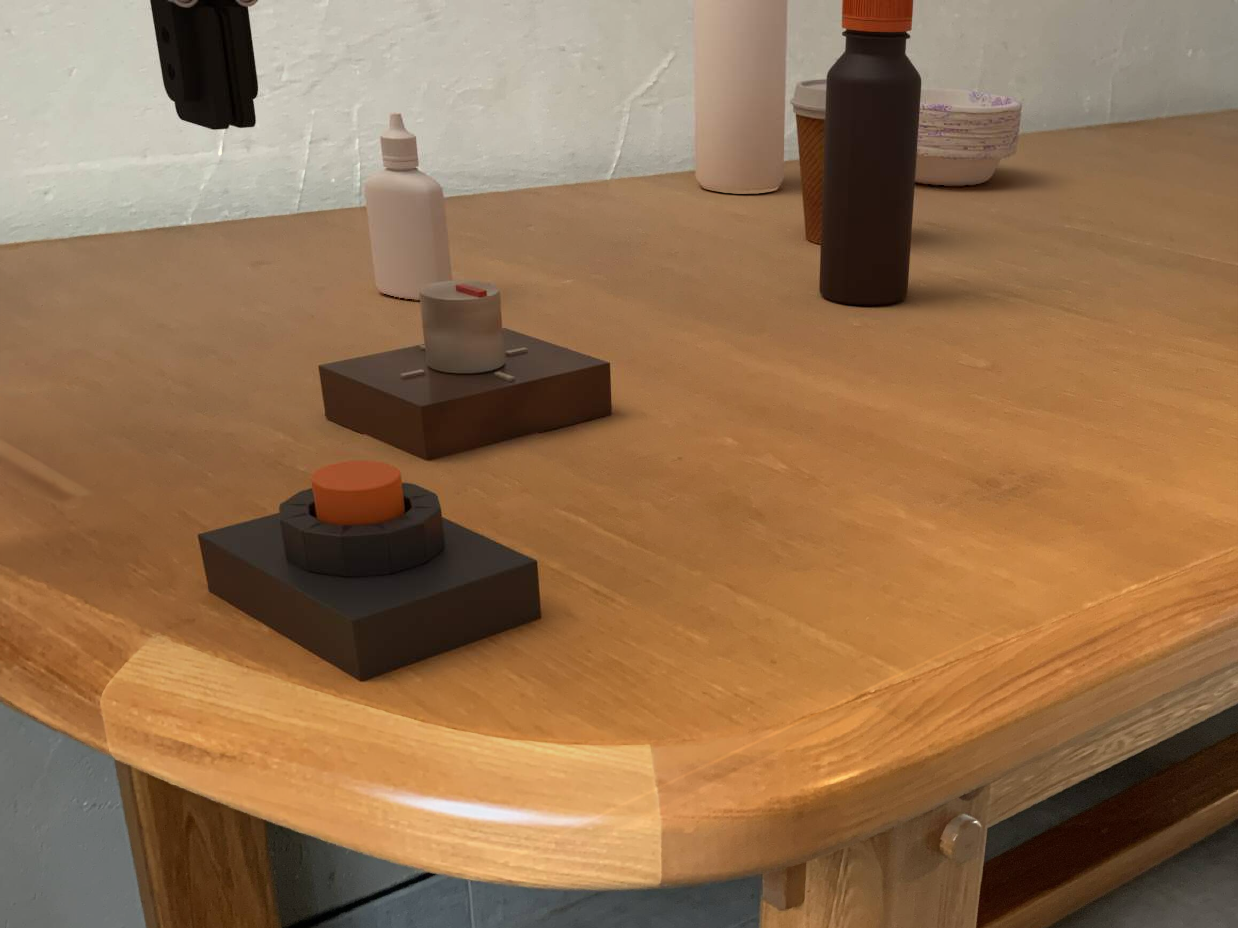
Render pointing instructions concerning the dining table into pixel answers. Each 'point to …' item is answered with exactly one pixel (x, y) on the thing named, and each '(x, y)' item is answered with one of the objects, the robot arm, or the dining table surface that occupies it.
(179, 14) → the robot arm
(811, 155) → the disposable coffee cup
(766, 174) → the pale pink cylinder
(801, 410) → the dining table surface
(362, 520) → the button
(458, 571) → the button base
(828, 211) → the dark brown water bottle
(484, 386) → the dial panel
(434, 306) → the dial
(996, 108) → the paper bowls
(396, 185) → the eye dropper bottle
